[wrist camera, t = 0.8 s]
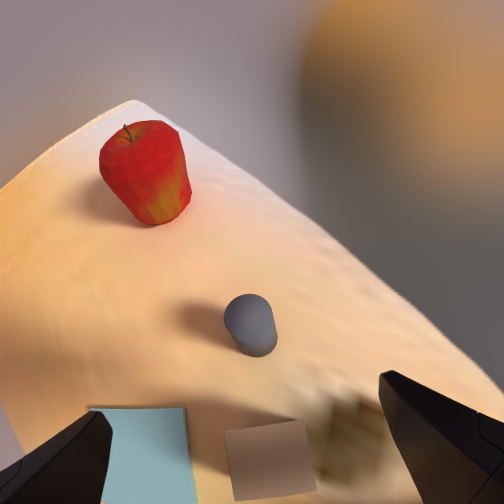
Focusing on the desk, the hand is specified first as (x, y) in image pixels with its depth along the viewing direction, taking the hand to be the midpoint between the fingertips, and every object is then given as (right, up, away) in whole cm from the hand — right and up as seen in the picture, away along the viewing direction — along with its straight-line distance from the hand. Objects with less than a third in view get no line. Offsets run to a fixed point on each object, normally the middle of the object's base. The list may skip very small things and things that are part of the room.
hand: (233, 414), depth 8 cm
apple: (-9, +10, +25) cm, 29 cm away
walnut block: (+2, -10, +10) cm, 14 cm away
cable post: (+1, -2, +16) cm, 16 cm away
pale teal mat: (-8, -12, +11) cm, 18 cm away
